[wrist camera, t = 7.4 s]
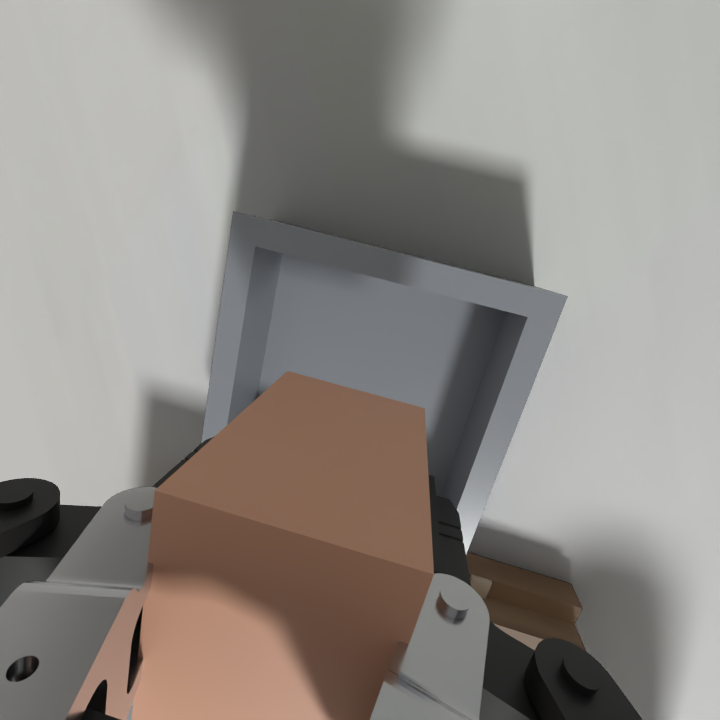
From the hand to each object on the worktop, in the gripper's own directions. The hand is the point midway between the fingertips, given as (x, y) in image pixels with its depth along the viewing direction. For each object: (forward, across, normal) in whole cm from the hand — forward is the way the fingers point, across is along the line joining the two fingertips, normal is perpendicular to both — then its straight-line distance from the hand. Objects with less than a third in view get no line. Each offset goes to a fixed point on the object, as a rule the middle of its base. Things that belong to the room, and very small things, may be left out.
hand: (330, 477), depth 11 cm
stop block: (+1, 0, 0) cm, 1 cm away
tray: (+9, 0, 0) cm, 9 cm away
